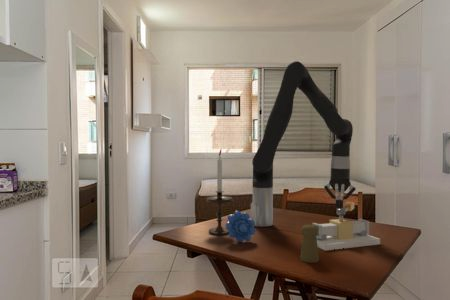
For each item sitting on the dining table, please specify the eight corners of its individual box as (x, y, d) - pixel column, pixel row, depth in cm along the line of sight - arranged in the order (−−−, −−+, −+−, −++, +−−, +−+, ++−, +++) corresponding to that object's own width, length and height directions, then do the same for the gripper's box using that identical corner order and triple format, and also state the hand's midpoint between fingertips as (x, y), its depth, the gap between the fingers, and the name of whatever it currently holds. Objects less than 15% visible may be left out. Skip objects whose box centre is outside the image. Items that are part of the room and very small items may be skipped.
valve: (324, 250, 121) (325, 221, 121) (303, 240, 135) (303, 213, 134) (380, 244, 129) (380, 216, 129) (354, 234, 143) (354, 209, 142)
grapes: (228, 246, 126) (228, 213, 126) (224, 241, 132) (224, 210, 132) (259, 244, 129) (259, 212, 128) (253, 239, 135) (253, 208, 135)
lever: (335, 215, 131) (335, 208, 131) (346, 207, 147) (346, 201, 147) (344, 216, 130) (344, 209, 130) (354, 208, 145) (354, 202, 145)
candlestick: (227, 228, 152) (228, 148, 152) (236, 234, 142) (236, 148, 141) (203, 230, 149) (203, 148, 148) (210, 236, 139) (210, 148, 138)
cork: (297, 256, 115) (297, 223, 115) (315, 256, 116) (315, 223, 116) (303, 262, 109) (303, 227, 109) (322, 262, 110) (322, 227, 110)
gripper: (357, 167, 146) (355, 208, 147) (324, 165, 150) (323, 205, 151) (357, 168, 139) (356, 211, 140) (323, 167, 143) (322, 209, 144)
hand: (339, 208), depth 145 cm, fingers closed
